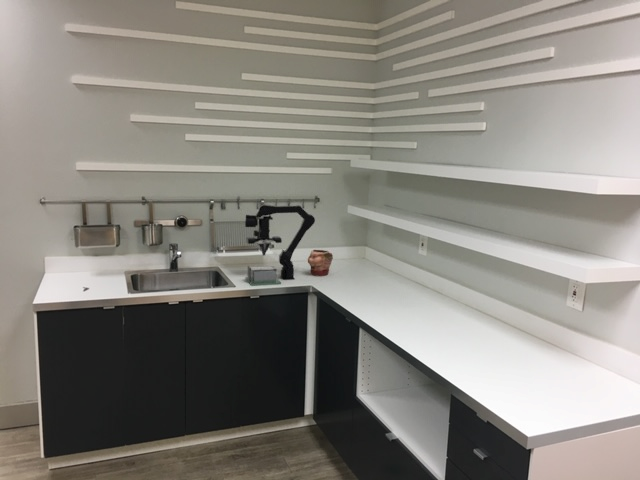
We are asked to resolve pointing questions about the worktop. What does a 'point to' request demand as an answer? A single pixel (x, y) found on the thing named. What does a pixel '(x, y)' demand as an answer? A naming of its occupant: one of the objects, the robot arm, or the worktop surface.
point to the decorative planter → (320, 262)
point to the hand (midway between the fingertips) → (263, 255)
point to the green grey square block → (262, 277)
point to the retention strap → (262, 268)
